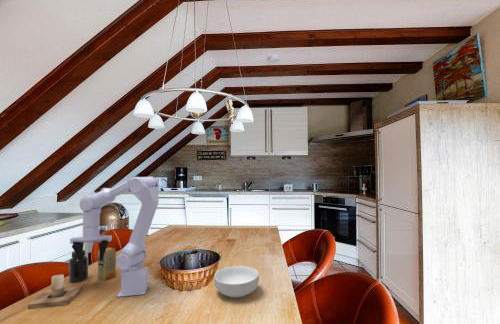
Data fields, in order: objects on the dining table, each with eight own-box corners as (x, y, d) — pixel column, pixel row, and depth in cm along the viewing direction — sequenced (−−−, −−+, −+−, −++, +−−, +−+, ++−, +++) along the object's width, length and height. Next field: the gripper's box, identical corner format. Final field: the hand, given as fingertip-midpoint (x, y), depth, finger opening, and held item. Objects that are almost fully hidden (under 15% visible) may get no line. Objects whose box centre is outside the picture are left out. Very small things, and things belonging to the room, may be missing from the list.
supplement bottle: (84, 275, 116) (85, 248, 116) (90, 279, 111) (90, 250, 112) (66, 280, 110) (66, 251, 111) (71, 284, 106) (72, 254, 106)
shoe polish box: (104, 280, 110) (104, 251, 110) (97, 278, 112) (98, 250, 113) (115, 276, 114) (115, 248, 114) (109, 274, 116) (109, 247, 117)
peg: (65, 295, 96) (65, 273, 96) (60, 300, 93) (61, 277, 93) (54, 297, 95) (54, 274, 96) (49, 301, 92) (49, 278, 92)
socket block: (83, 289, 101) (83, 285, 101) (68, 304, 89) (68, 300, 89) (48, 292, 99) (48, 288, 99) (27, 309, 87) (27, 304, 87)
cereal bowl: (218, 283, 106) (217, 265, 106) (258, 283, 105) (258, 265, 106) (210, 304, 89) (210, 283, 89) (259, 304, 88) (258, 283, 89)
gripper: (114, 223, 110) (113, 255, 109) (75, 225, 107) (75, 258, 106) (108, 226, 103) (108, 261, 102) (67, 228, 100) (67, 264, 99)
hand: (91, 260), depth 104 cm, fingers open, 7 cm apart
